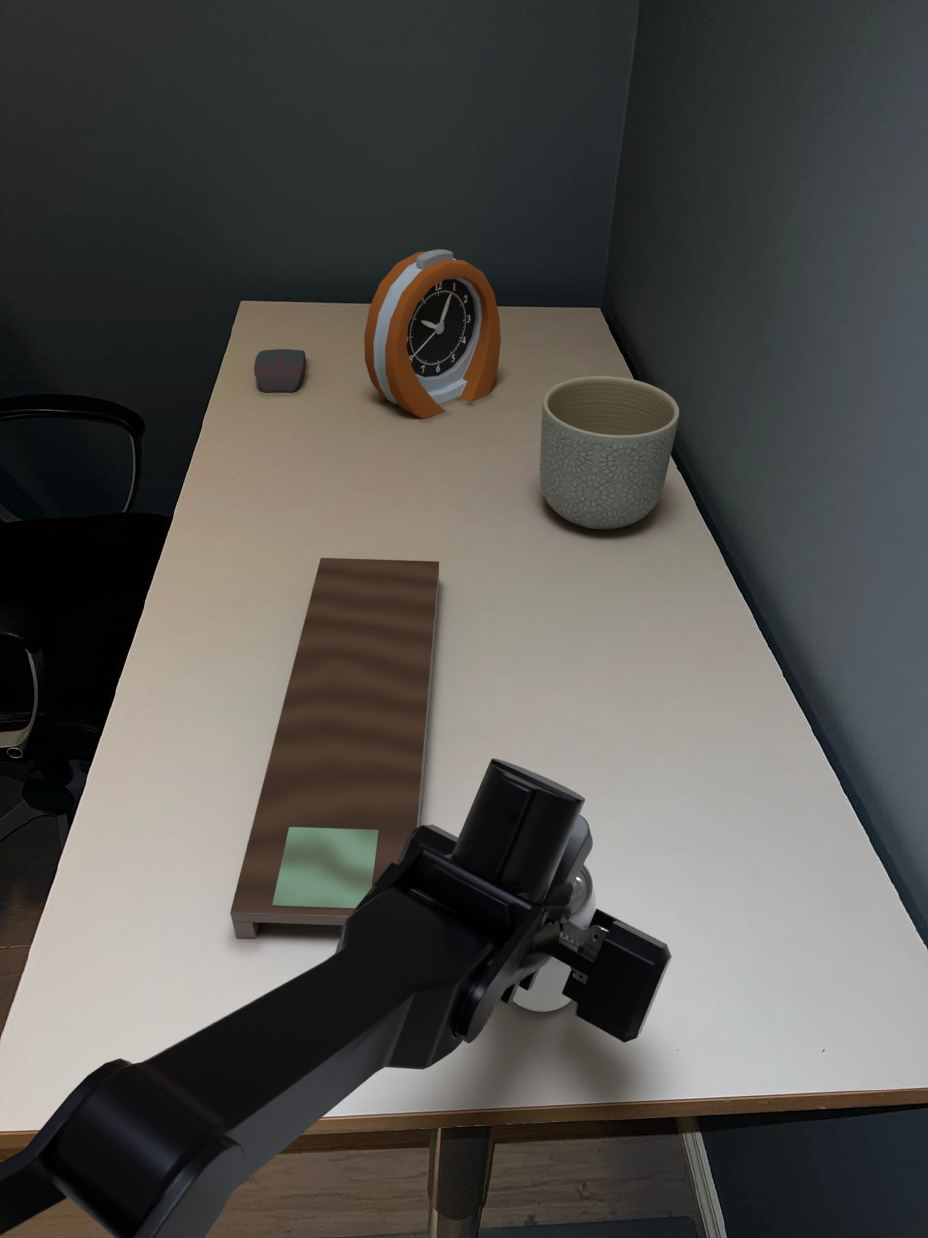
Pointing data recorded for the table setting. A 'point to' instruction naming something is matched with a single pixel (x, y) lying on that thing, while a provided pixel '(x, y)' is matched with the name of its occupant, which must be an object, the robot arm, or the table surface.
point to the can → (556, 972)
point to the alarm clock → (432, 333)
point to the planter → (605, 449)
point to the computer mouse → (279, 370)
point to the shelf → (344, 746)
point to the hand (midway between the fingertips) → (554, 912)
